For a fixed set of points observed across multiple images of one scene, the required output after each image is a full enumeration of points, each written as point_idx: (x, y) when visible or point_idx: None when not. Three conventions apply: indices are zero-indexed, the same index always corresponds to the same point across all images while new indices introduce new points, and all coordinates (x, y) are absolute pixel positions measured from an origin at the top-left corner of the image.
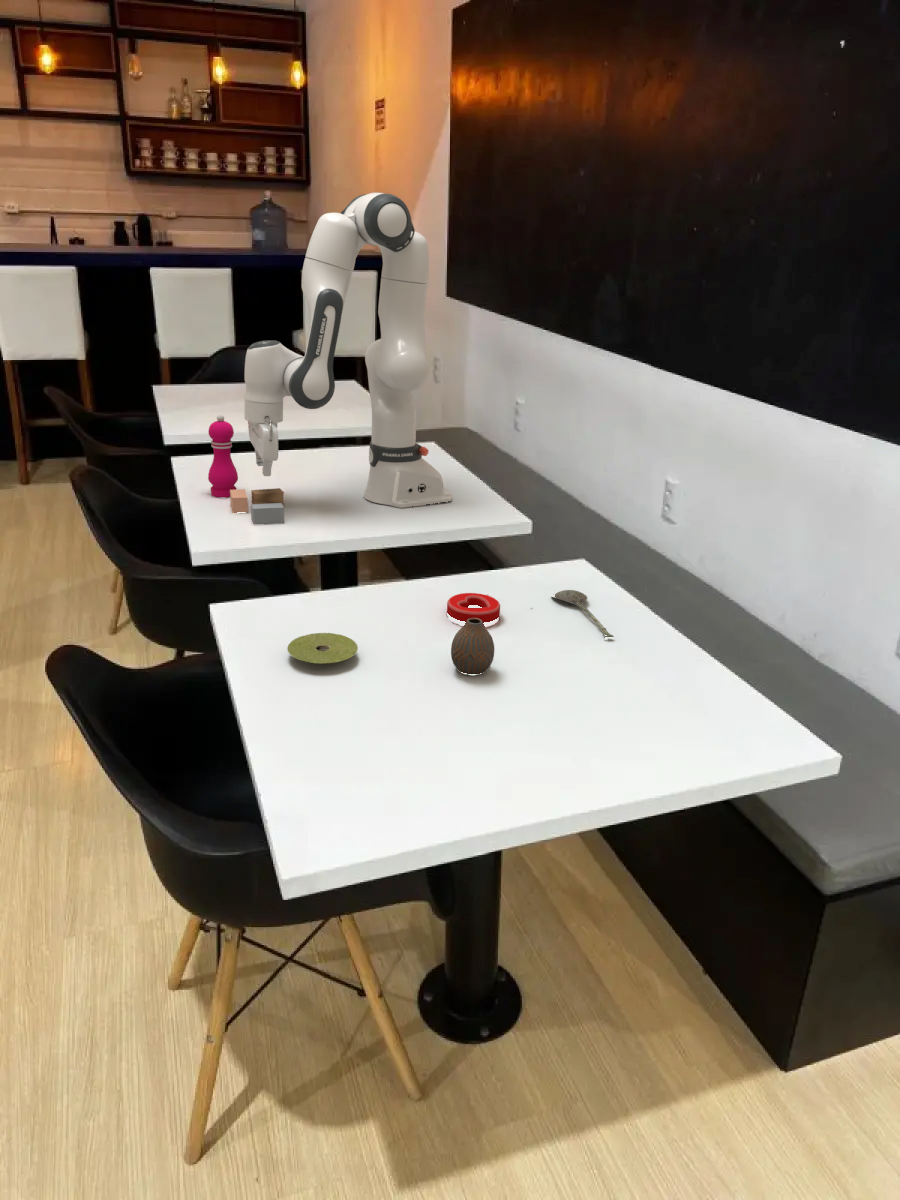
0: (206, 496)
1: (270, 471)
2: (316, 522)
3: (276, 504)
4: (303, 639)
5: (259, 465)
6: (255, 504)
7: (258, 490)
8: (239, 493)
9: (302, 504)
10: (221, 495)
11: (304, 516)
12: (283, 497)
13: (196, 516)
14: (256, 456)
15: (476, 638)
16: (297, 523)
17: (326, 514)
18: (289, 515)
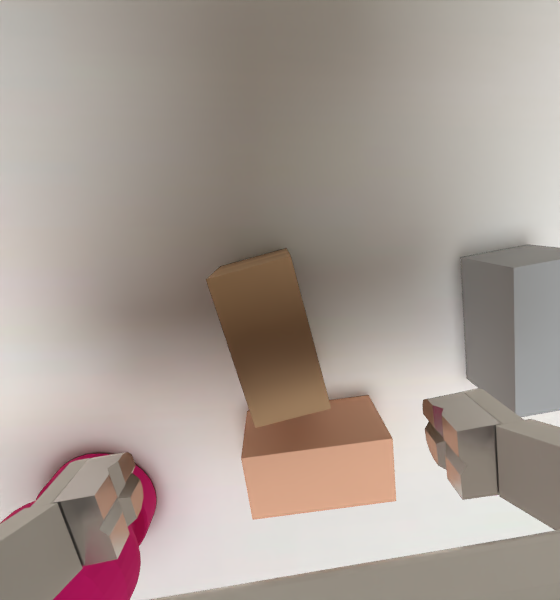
0: (144, 547)
1: (506, 409)
2: (542, 83)
3: (537, 293)
4: None
5: (137, 485)
6: (520, 397)
7: (260, 393)
8: (319, 476)
9: (234, 152)
10: (154, 508)
11: (438, 145)
12: (288, 253)
13: (396, 553)
14: (65, 584)
15: None
16: (540, 183)
17: (415, 16)
18: (415, 220)
